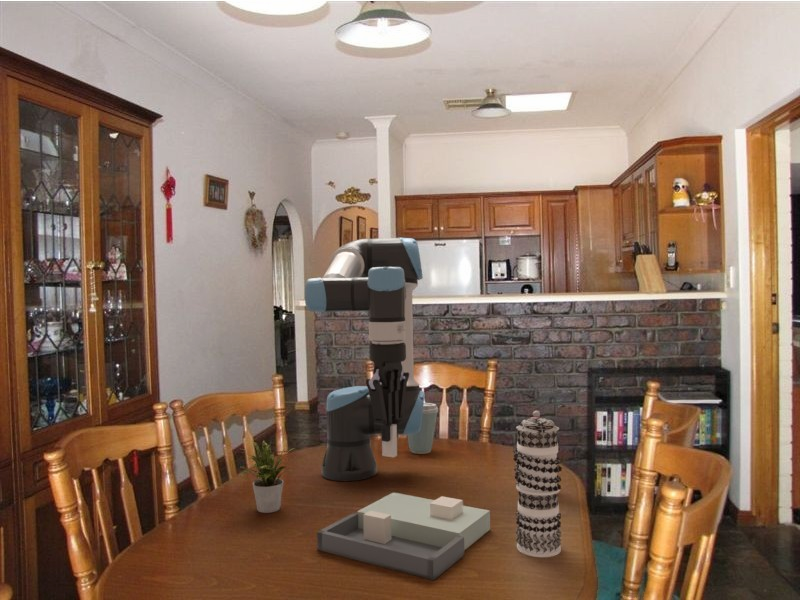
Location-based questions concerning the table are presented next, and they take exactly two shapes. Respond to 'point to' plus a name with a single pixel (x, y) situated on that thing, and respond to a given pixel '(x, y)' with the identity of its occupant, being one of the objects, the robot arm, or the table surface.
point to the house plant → (267, 480)
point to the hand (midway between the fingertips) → (389, 455)
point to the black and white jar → (538, 488)
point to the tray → (389, 550)
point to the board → (428, 521)
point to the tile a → (377, 527)
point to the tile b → (446, 507)
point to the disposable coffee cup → (424, 431)
